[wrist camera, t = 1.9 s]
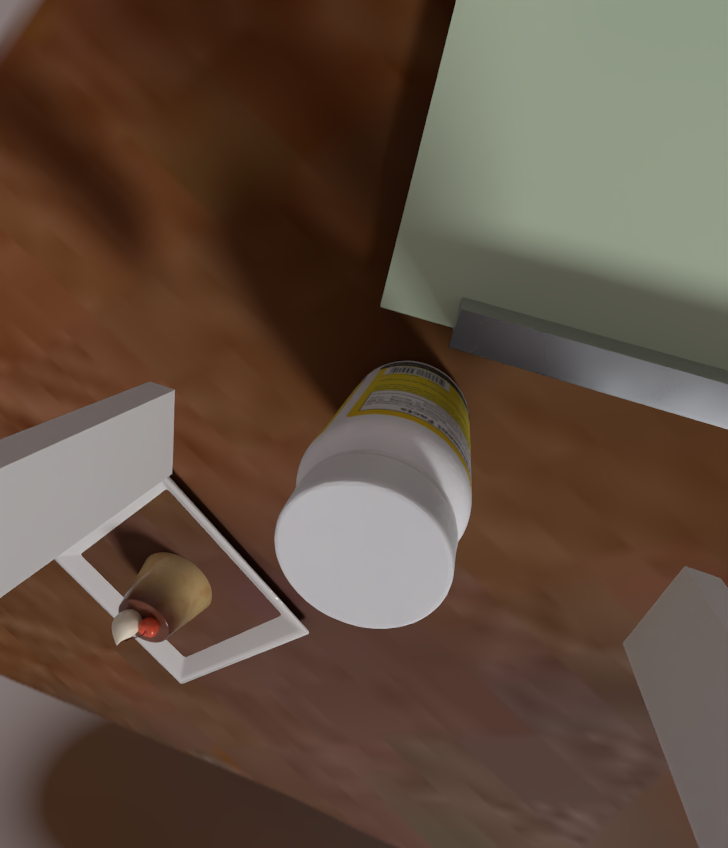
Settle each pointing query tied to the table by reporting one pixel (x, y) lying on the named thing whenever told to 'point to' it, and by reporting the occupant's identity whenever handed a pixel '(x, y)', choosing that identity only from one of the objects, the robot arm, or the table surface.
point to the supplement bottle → (381, 500)
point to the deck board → (576, 172)
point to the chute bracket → (593, 361)
